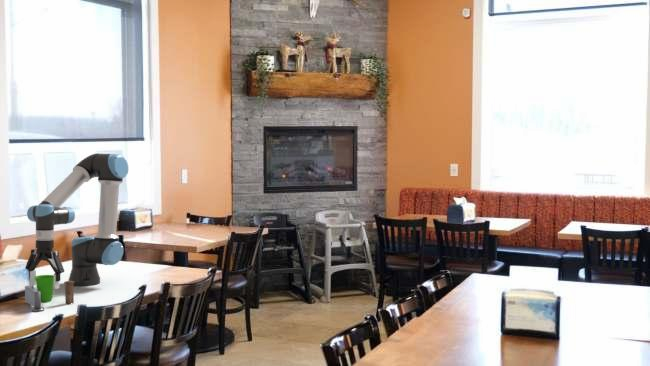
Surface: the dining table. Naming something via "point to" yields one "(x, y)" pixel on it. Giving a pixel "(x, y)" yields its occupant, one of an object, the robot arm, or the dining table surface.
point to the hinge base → (37, 310)
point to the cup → (45, 286)
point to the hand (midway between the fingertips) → (44, 287)
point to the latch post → (69, 292)
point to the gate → (33, 297)
